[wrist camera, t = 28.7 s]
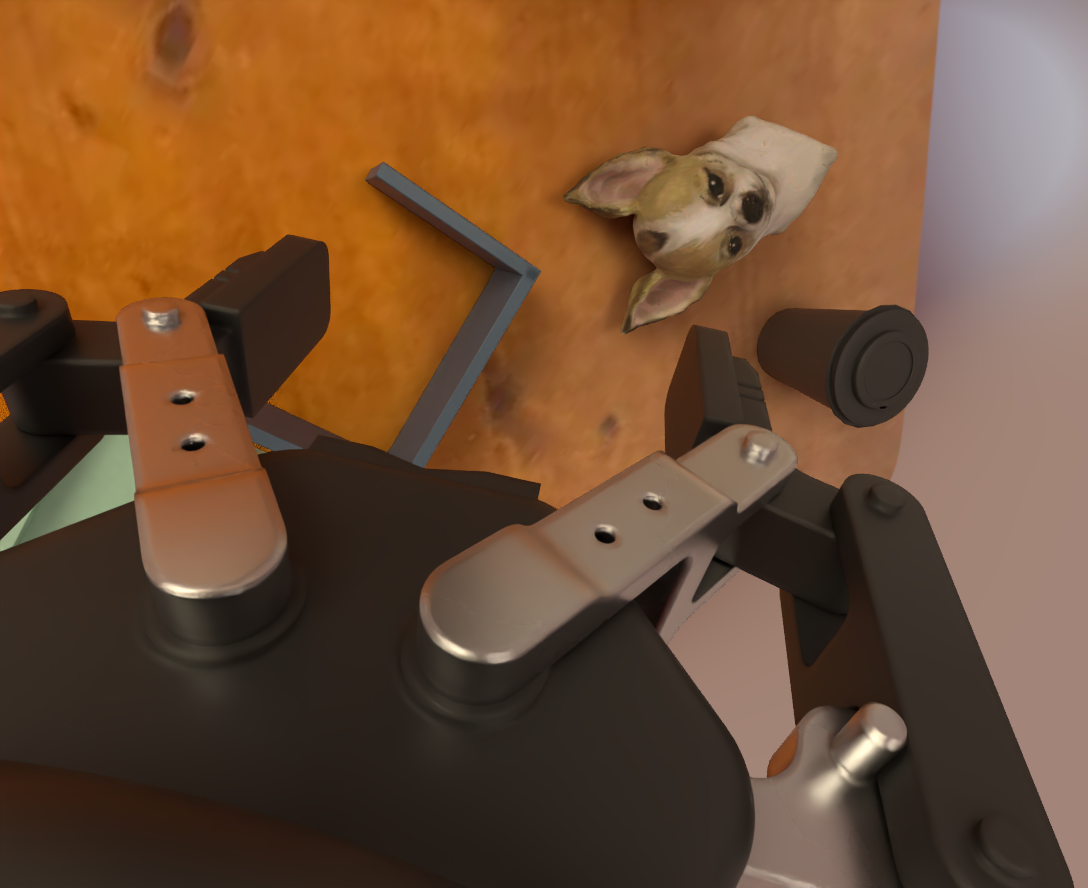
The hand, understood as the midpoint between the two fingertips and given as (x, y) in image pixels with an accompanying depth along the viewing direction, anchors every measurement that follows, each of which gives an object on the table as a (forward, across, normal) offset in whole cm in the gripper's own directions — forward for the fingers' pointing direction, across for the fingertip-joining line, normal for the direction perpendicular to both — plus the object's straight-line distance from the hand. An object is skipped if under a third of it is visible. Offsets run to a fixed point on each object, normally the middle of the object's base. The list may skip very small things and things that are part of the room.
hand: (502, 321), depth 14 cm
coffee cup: (+34, -18, +15) cm, 41 cm away
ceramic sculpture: (+32, -6, +6) cm, 33 cm away
